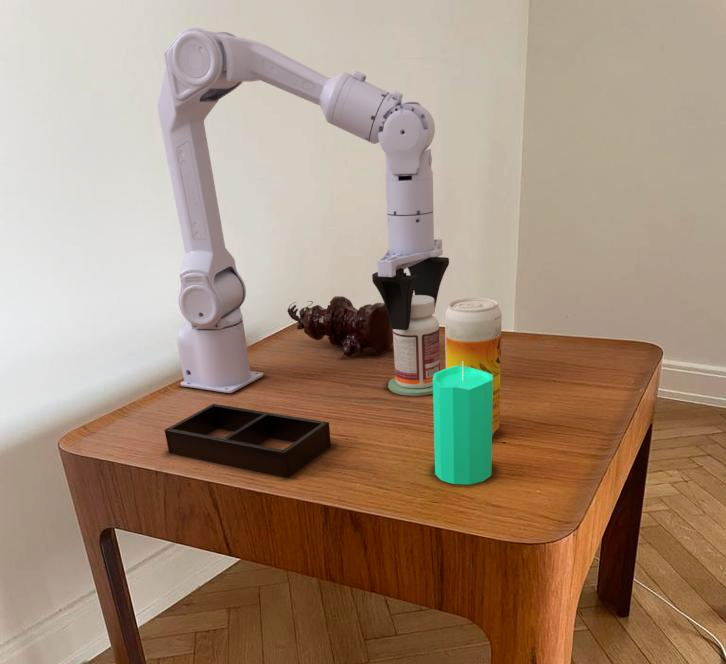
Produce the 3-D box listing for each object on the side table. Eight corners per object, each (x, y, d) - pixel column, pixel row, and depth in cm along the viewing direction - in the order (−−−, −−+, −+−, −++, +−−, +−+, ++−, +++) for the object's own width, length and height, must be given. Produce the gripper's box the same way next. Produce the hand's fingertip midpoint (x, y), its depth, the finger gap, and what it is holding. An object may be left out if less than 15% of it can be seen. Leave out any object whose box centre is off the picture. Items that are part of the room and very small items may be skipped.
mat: (377, 391, 101) (377, 388, 101) (404, 373, 107) (404, 370, 107) (431, 399, 97) (431, 395, 97) (455, 379, 103) (455, 376, 103)
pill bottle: (437, 373, 105) (435, 292, 100) (443, 388, 99) (441, 303, 94) (393, 376, 105) (389, 295, 100) (396, 391, 99) (392, 307, 94)
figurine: (390, 377, 116) (295, 367, 125) (409, 319, 119) (315, 313, 127) (364, 345, 108) (265, 337, 117) (385, 284, 110) (286, 281, 119)
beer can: (498, 443, 84) (500, 310, 77) (444, 441, 85) (441, 311, 78) (500, 422, 89) (502, 296, 82) (449, 421, 90) (447, 297, 84)
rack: (168, 453, 87) (164, 429, 86) (217, 425, 94) (213, 403, 93) (287, 478, 80) (284, 452, 78) (331, 446, 86) (329, 422, 85)
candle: (430, 462, 81) (427, 355, 75) (485, 456, 81) (486, 349, 75) (440, 487, 75) (437, 374, 70) (498, 481, 76) (500, 368, 70)
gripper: (413, 222, 85) (416, 339, 91) (463, 204, 96) (463, 309, 102) (359, 221, 88) (366, 334, 94) (413, 204, 99) (416, 306, 105)
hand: (413, 321), depth 98 cm, fingers open, 7 cm apart
